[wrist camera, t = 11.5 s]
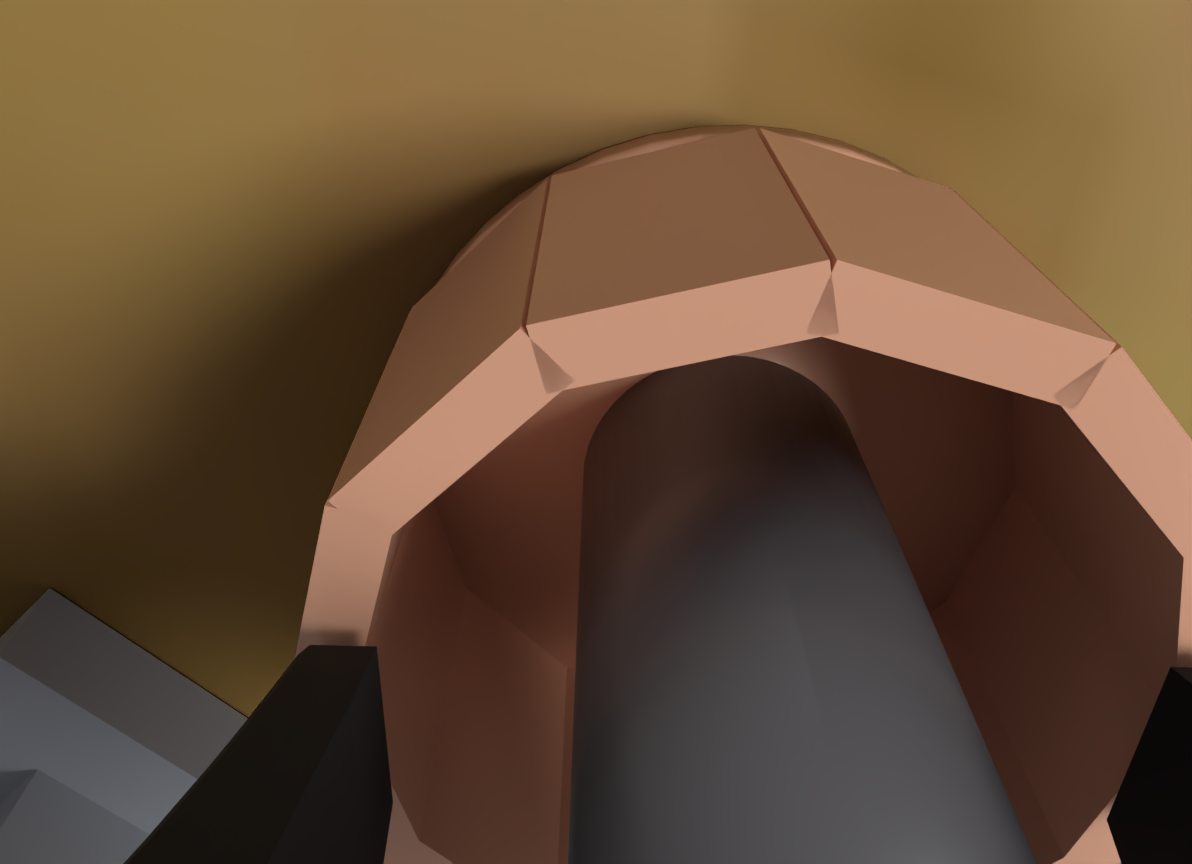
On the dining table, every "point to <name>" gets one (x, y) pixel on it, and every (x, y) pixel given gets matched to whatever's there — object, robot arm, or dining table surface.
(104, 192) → the dining table surface
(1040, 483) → the cup
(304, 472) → the dining table surface
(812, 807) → the battery cell
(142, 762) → the checker housing
